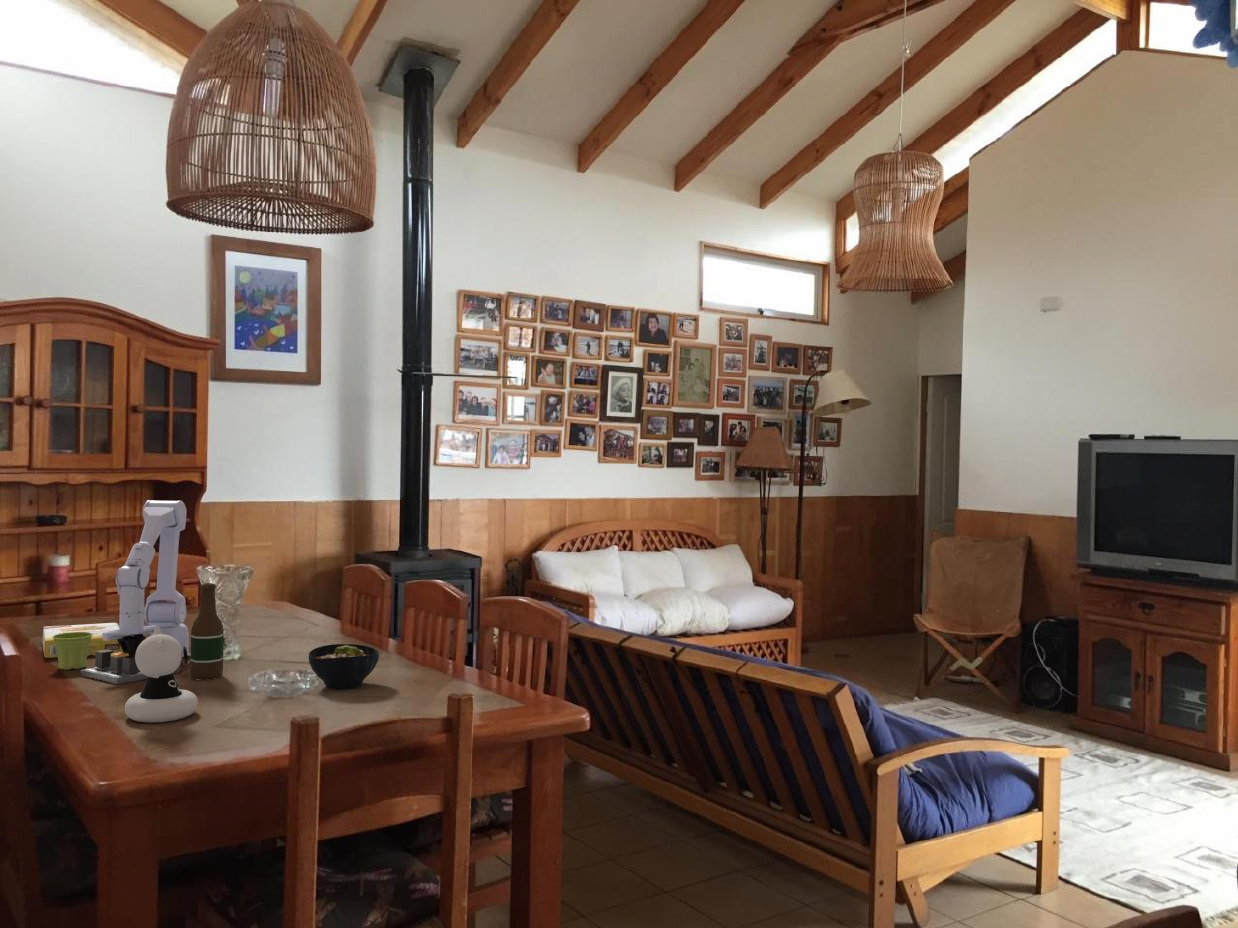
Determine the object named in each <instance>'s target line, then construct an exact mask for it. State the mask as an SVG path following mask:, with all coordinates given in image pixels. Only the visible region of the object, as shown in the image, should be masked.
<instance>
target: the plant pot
mask: <svg viewBox="0 0 1238 928" xmlns="http://www.w3.org/2000/svg"><path fill="white" fill-rule="evenodd" d="M91 636H93V633H90V632H69V633H62V634H57V635H54V636H52V638H53V639H54V642H55V644H56V649H57V655H58V657H57V660H58V661H57V663H58V668H59V669H60V670H66V671H69V670H71V669H76V670H79V669H80V670H81V669H83V668H85V667H86V666H87V659H88V656H87V654H88V648H89V642H90V640H91Z"/></svg>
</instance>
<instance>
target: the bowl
mask: <svg viewBox="0 0 1238 928" xmlns="http://www.w3.org/2000/svg"><path fill="white" fill-rule="evenodd" d="M379 659H380V651H379V650H378V649H376V648H374V647H371V646H369V645H364V644H363V645H362V644H353V643H337V644H335V643H334V644H333V643H332V644H327V645H321V646H318V647H316V648H314V649H312V650H311V651H309V653H308V663H309V665H310V667H311V670H312V672H314V674H315V675H316V676H317V677H318V678H319V679H320V680H322V681H323V684H324V685H325V686H326V687H325V688H327V689H331V690H341V691H342V690H343V691H344V690H352V689H353V690H354V689H356V688H359V687H361V685H362V684H363V682H364V680H365V679H366V678H367V677H368V676H369V675H370V674H371V673H372V672H373V671H374V669H375V668H376V666H377V664H378V662H379Z"/></svg>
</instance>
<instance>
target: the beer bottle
mask: <svg viewBox="0 0 1238 928" xmlns="http://www.w3.org/2000/svg"><path fill="white" fill-rule="evenodd" d="M199 588H200V589H201V591H200V604H199V613H198V615H197V618H195V620H194V621H193V623H192V626H191V630H190V631H191V632H190V666H189V667H190V679H193V678H194V679H193V680H195V679H202V680H201V681H208V680H207V679H210V680H215V679H214V678H217V679H219V678H221V677H222V676H223V674H224V673H223V672H224V643H225V641H224V637H225V635H224V633H225V632H224V625H223V622H222V620H221V619H220V617H219V616H218V615H217V613H218V612H217V607H216V605H217V604H216V588H217V585H216V584H215V583H212V582H211V583H209V582H205V583H202V584H201V585H200V587H199Z"/></svg>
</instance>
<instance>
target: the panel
mask: <svg viewBox="0 0 1238 928" xmlns="http://www.w3.org/2000/svg"><path fill="white" fill-rule="evenodd" d="M112 653H113V651H112V650H107V649H106V650H100V651H96V655H94V657H95V659H94V661H95V662H94V663H95V664H94V665H95V666H94V667H90V668H89V667H88V668H84V669H83V668H82V669H80V676H81V677H83V678H84V677H85V678H88V679H92V678H94V680H96V679H97V681H100V680H102V681H101V682H105V681H106V683H110V684H114V685H121V684H125V683H132V682H137V681H143V680H146V679H147V678H148V676H146V675H144V674H143V673H142V672H141V671H140V670H139V669H138V667H137V665H136V662H135V655H132V656H126V657H123V668H122V670H120V671H115V670H111V669H110V664H111V654H112ZM178 672H179V673H180V666H179V667H178V668H177V669H176V670H175V671H174V672H173V674H177V673H178ZM179 673H178V674H179Z"/></svg>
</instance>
